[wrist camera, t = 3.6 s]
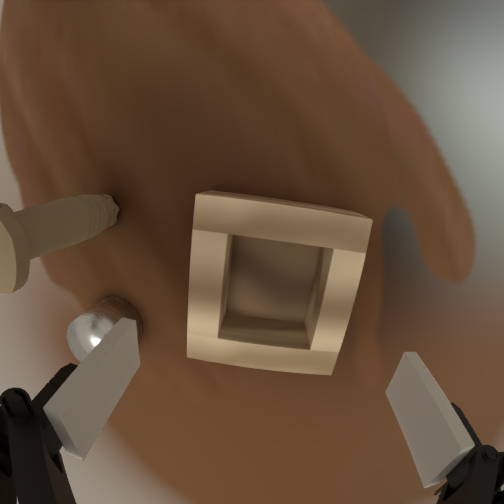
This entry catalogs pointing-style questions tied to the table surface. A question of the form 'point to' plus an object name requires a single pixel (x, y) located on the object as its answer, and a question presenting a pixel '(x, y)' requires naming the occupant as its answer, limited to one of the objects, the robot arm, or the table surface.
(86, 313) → the round plug
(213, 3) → the table surface
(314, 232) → the socket block
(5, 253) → the handle
